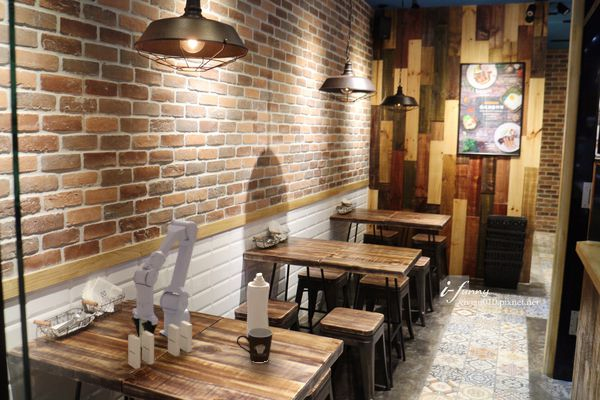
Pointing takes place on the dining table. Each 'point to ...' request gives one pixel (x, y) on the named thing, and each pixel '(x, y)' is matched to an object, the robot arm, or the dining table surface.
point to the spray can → (257, 303)
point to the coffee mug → (258, 344)
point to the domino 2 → (141, 330)
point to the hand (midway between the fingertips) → (144, 338)
